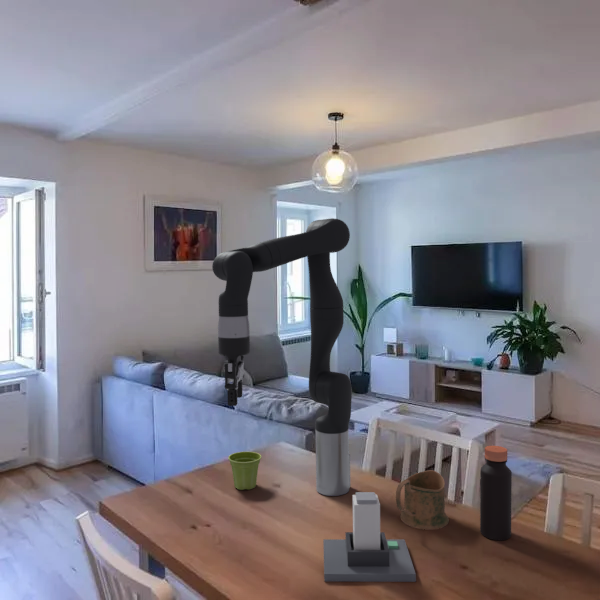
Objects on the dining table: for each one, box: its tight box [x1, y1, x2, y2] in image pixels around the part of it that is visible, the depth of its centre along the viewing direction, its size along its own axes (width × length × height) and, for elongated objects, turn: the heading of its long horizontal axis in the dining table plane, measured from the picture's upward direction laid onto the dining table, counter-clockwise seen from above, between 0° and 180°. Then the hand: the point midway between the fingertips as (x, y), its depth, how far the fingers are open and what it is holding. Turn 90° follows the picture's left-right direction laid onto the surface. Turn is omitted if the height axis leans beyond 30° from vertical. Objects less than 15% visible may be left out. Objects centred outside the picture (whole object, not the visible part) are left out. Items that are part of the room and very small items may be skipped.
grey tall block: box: [352, 491, 381, 550], centre depth 115 cm, size 5×5×13 cm
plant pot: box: [227, 451, 262, 491], centre depth 157 cm, size 9×9×9 cm
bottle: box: [479, 445, 513, 541], centre depth 127 cm, size 7×7×20 cm
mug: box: [395, 469, 450, 531], centre depth 133 cm, size 12×18×12 cm, turn 137°
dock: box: [323, 531, 417, 583], centre depth 115 cm, size 18×14×4 cm
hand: (235, 401), depth 133 cm, fingers open, 8 cm apart
